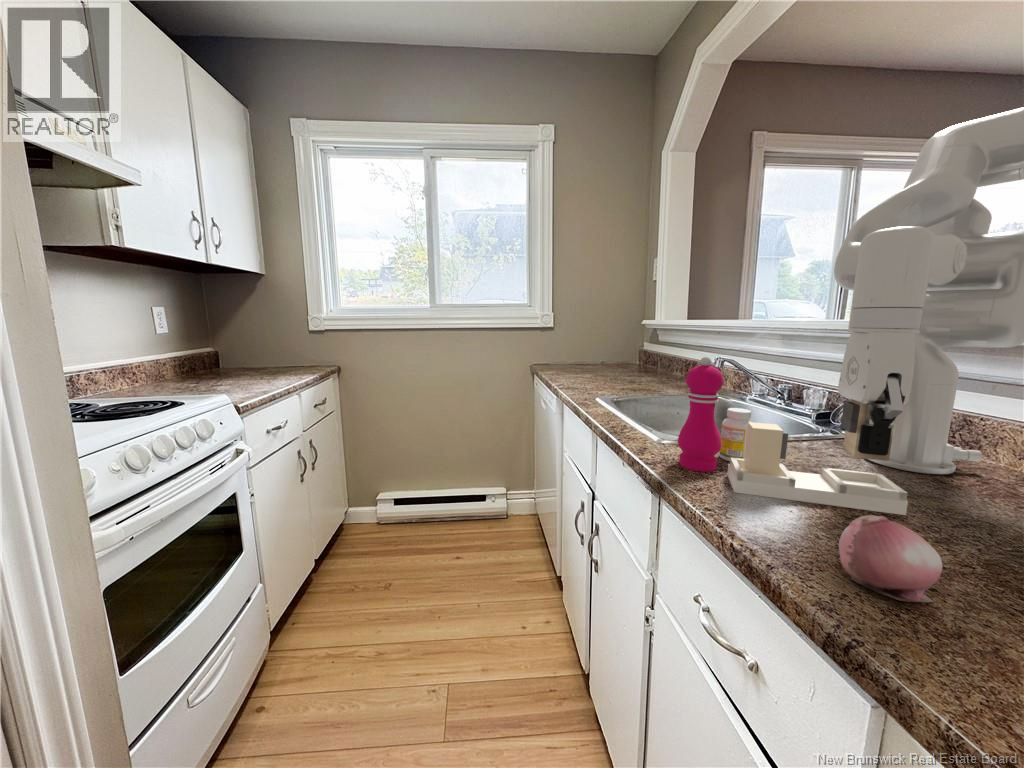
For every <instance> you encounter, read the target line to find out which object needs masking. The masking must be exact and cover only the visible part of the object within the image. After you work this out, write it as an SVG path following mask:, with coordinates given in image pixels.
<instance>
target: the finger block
mask: <svg viewBox="0 0 1024 768" xmlns="http://www.w3.org/2000/svg"><path fill="white" fill-rule="evenodd" d="M874 404H886V402H883V401H880V400H876V401H874ZM878 410H883V409H878V408H875V414H876V412H877V411H878ZM875 414H874V415H875ZM865 419H866V404H861V403H858V402H855V401H852V400H850V401H849V400H847V401H845V400H844V401H843V407H842V414H841V422H840V428H841V429H843V430H844V431H845V432H844V437H843V438H844V439H843V444H842V445H843V446H842V450H843V452H846V453H847V454H848V455H850V457H853V458H857V459H864V460H865V459H866V460H868V459H873V460H883V461H889V457H890V450H891V444H892V438H893V432H894V427H893V428H892V431H891V437H890V443H889V449H888V454H887V455H885V456H883V455H873V454H863V453H860V452H859V451H858V446H859V439H860V433H861V426H862V425H866V424H865ZM894 425H895V420H894Z"/></svg>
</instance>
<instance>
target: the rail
mask: <svg viewBox="0 0 1024 768" xmlns="http://www.w3.org/2000/svg"><path fill="white" fill-rule="evenodd" d="M788 439H789V433H788V432H787V431H786V430H785V429H784V428H781V427H780V426H779V425H778V424H776V423H764V422H763V423H762V422H753V421H750V422H748V428H747V438H746V448H745V458H744V459H740V458H730V461H729V463H728V465H727V478H728V481H729V483H730V486H731V488H732V490H733V493H736V494H744V495H750V496H751V495H752V496H759V497H764V498H765V497H766V498H772V499H773V498H774V499H781V500H790V501H796V502H797V501H798V502H805V503H809V504H819V505H825V506H834V507H841V508H848V509H849V508H850V509H856V510H863V511H869V512H870V511H871V512H878V513H884V514H885V513H887V514H895V515H900V516H901V515H902V516H906V515H907V510H908V504H909V501H908V499H907V498H908V491H905V490H904V489H903V488H901V487H900V486H899V485H897V484H896V483H895V482H893V481H892V480H890V479H889V478H887V477H886V476H885V475H883V474H882V473H875V472H867V471H857V470H850V469H849V470H848V469H839V468H831V467H824V466H823V467H821V468H820V474H819V473H811V472H802V471H793V470H788V468H787V467H786V466H785V464H783V462H780V461H781V459H782V460H786V457H787V451H788V450H787V449H788V447H787V446H788Z"/></svg>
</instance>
